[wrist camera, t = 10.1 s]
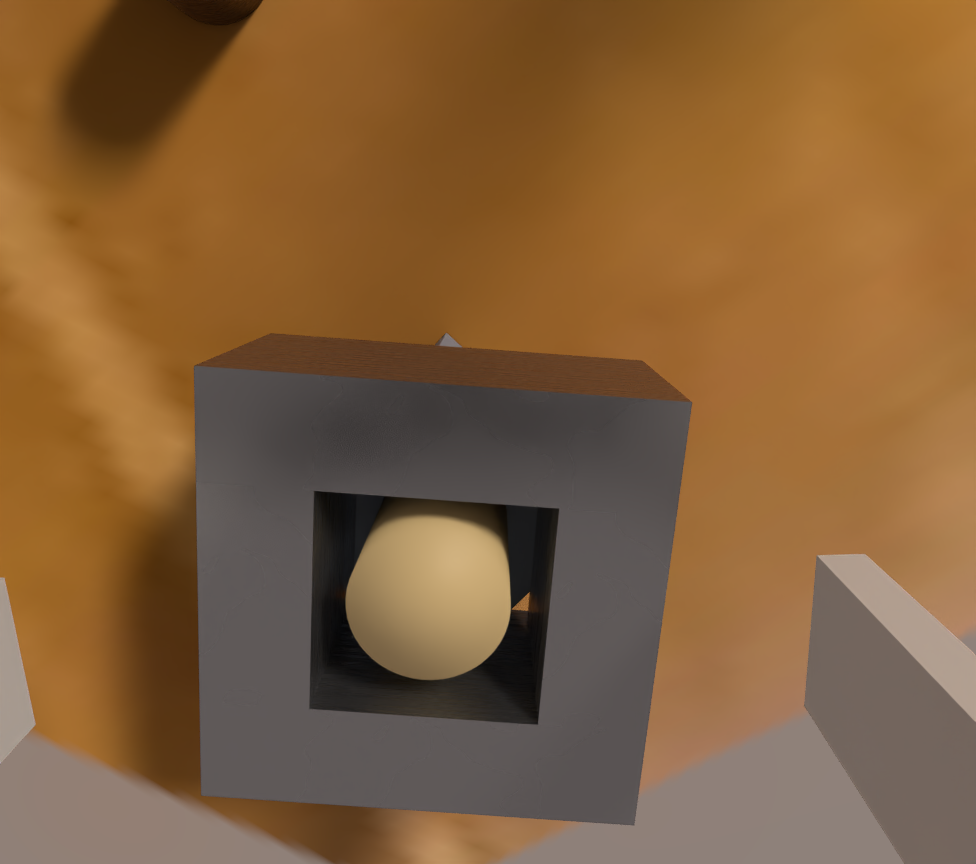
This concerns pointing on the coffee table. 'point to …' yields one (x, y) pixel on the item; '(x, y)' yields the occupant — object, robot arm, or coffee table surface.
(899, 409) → the coffee table surface
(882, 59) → the coffee table surface
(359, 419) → the grey hollow block
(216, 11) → the ball
